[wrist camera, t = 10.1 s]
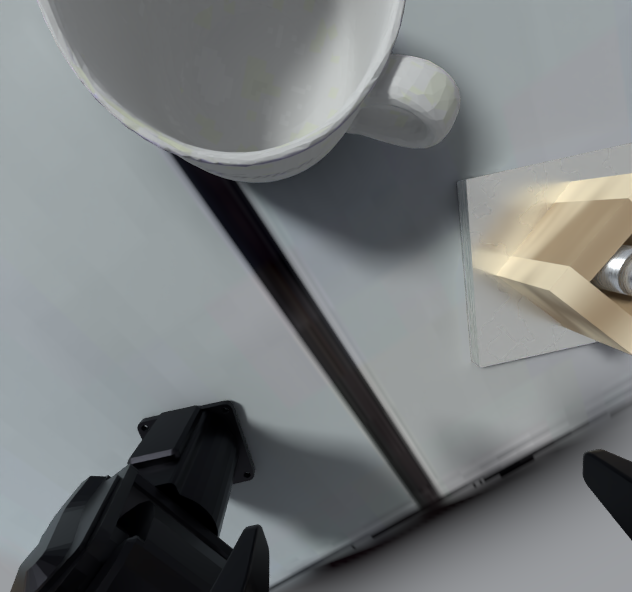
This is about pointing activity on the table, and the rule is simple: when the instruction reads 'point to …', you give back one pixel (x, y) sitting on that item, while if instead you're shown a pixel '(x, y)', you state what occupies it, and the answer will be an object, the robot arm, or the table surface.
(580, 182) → the collar
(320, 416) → the table surface
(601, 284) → the stand
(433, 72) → the teacup
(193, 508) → the robot arm
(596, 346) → the table surface
